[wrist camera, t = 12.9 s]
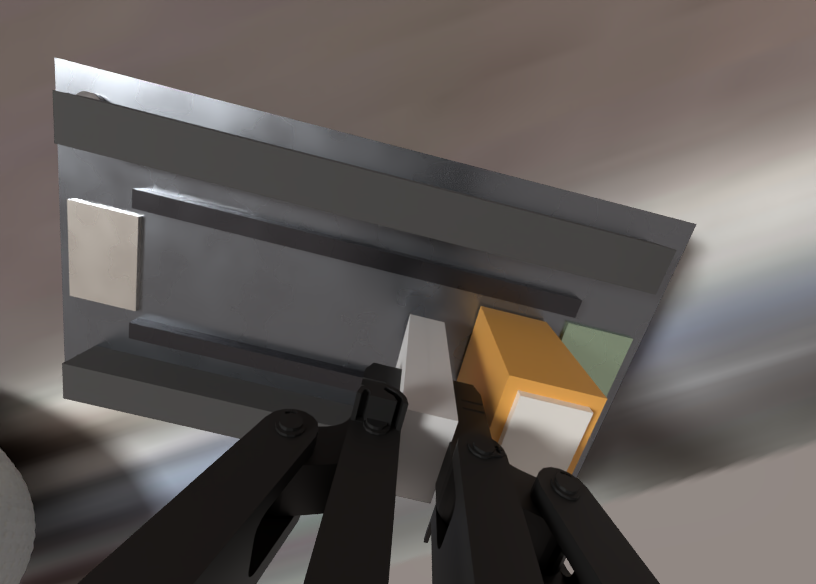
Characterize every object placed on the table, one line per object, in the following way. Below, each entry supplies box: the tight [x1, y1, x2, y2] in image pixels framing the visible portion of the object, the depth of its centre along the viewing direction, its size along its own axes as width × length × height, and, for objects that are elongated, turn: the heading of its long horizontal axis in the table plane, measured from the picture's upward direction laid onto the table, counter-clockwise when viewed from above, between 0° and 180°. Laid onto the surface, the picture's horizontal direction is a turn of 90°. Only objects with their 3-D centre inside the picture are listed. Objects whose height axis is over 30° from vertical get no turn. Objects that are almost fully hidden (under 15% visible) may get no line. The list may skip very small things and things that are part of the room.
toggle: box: [457, 306, 607, 477], centre depth 15 cm, size 4×3×6 cm
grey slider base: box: [55, 58, 696, 477], centre depth 19 cm, size 15×26×4 cm, turn 76°
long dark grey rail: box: [53, 90, 677, 295], centre depth 15 cm, size 2×23×2 cm, turn 76°
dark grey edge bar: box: [62, 345, 353, 439], centre depth 18 cm, size 2×23×2 cm, turn 76°
